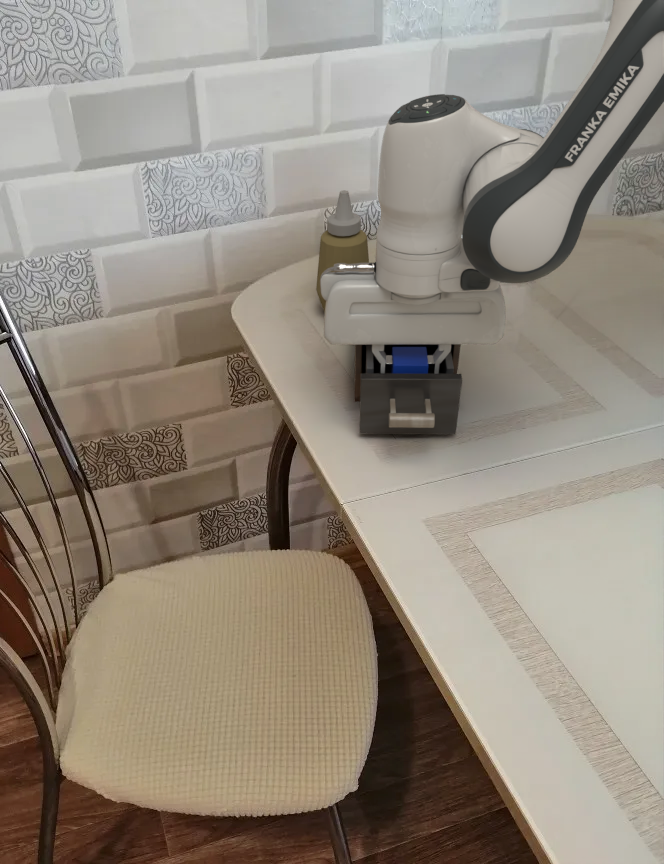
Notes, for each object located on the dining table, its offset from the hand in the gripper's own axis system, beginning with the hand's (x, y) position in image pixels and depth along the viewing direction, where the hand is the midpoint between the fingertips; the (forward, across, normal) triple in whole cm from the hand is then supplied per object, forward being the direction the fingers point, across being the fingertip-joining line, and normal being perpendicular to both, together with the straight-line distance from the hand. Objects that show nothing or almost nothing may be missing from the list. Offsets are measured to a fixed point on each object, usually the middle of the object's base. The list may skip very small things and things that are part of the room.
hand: (409, 372), depth 94 cm
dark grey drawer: (+6, 0, 0) cm, 6 cm away
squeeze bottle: (+7, -8, +27) cm, 29 cm away
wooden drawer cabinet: (+7, 0, +11) cm, 13 cm away
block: (+2, 0, 0) cm, 2 cm away
